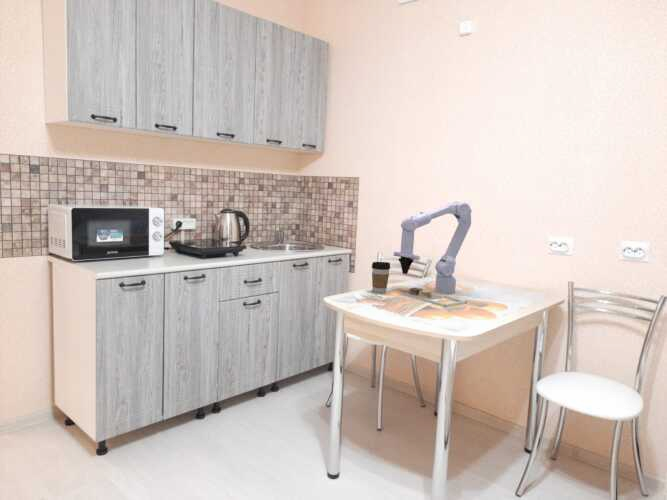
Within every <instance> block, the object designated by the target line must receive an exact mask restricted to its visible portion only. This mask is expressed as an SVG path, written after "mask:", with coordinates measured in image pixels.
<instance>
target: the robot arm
mask: <svg viewBox="0 0 667 500" xmlns="http://www.w3.org/2000/svg"><path fill="white" fill-rule="evenodd" d="M447 214H449V215H453V216H454V217H455V219H456V221H457V223H458V224H457V227H456V229H455V231H454V234H453V235H452V237H451V240H450V242H449V244H448V246H447V248H446V251H445V253H444V254H443V255H442V256H441V258H440V259H439V260H438V261H437V262H436V264H435V265H434V266H435V267H434V268H435V271H436V274H435V286H434V292H435V293H438V294H441V295H442V294H443V295H447V294H448V295H449V294H452V293H453V294H455V293H456V286H457V284H456V283H457V280H456V277H455V276H453V275H454V273H455V267H456V263H457V262H456V258H457V256H458V254H459V251H460V250H461V248H462V245H463V243H464V241H465V238H466V237H467V234H468V232H469V230H470V228H471V225H472V208H471V206H470V205H469V203H467V202H460V201H454V202H451V203H448V204H445V205H443V206H440V207H438V208H436V209H434V210H433V211H430V212H428V211H419V213H418V214H416V215H410V218H407V217H406V218H404V219H402V222H401V224H400V227H401V229H402V230H401V231H402V232H401V238H400V240H401V242H400V251H393V256H394V257H399V258H398V261H399V264H400V266H401V267H400V268H401V271H402V274H404V275H406V274H408V273H409V270H410V267H411V266H412V264H413V263H414V261H420V258H421V256H420V255H417V254H414V244H415V243H414V242H415V231H417V229H418V228H421V227H423V226H426V225H428V224H430V223H431V221H432V220H434V219H436V218H438V217H441V216H444V215H447Z"/></svg>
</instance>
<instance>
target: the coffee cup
mask: <svg viewBox="0 0 667 500" xmlns="http://www.w3.org/2000/svg"><path fill="white" fill-rule="evenodd" d="M371 269H372V270H371V271H372V272H371V277H372V281H371V284H372V285H371V287H372V293H374V294H378V295H380V294H381V295H382V294H383V295H384V294H387V293H386V292H387V289H388V288H387V287H388V282H389V277H390V276H389V275H390V273H389V272H390V270H391V263H390V262H388V261H373V262H372V264H371Z"/></svg>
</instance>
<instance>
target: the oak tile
mask: <svg viewBox="0 0 667 500" xmlns="http://www.w3.org/2000/svg"><path fill="white" fill-rule="evenodd" d="M432 294H433V292H432V291H430V290H426V289H422V290H421V291H419V296H420V297H423V298H429V297H431V296H432Z"/></svg>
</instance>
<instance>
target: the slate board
mask: <svg viewBox="0 0 667 500" xmlns="http://www.w3.org/2000/svg"><path fill="white" fill-rule="evenodd" d="M397 294H398V295H401V296H405V297H408V298H411V299H415V300H417V301H418V300H419V301H421V302H424V301H423V297H420V296H419V295H413V294H410V291H406V292H400V293H397ZM425 299H428V300H432V301H433V300H436V299H437V300H439V299H444V298H443V296H439V295H436V294H434V293H432V296H431V297H429V298H425Z"/></svg>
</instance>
